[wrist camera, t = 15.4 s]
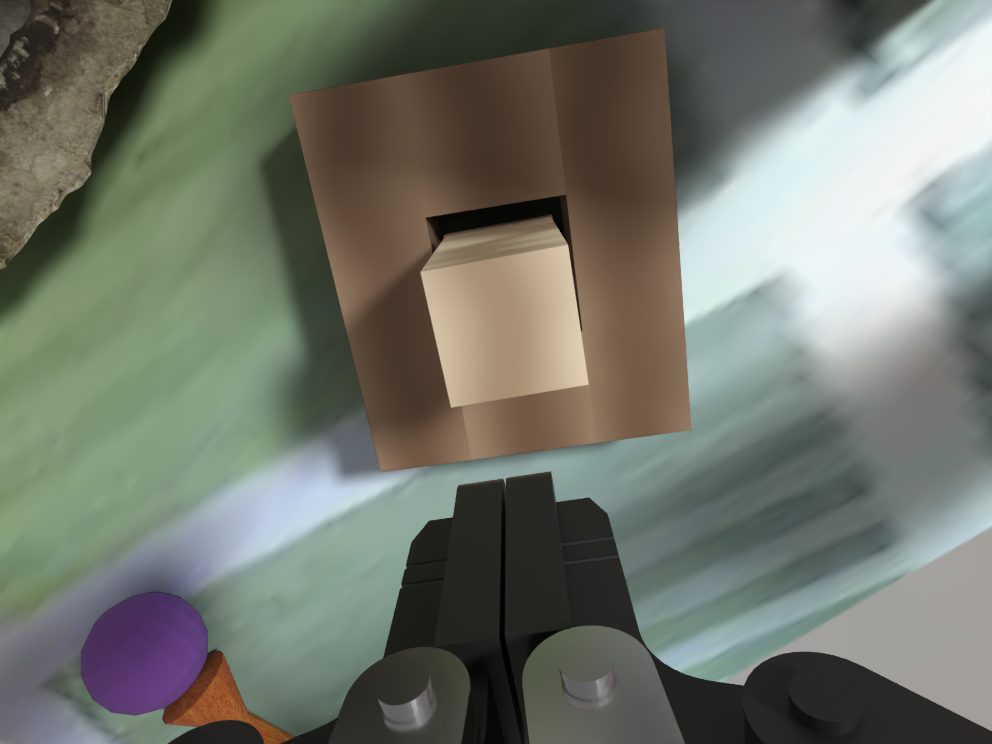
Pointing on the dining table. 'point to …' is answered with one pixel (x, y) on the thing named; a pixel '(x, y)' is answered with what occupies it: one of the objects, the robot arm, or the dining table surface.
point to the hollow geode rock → (58, 98)
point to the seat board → (499, 181)
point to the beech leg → (505, 312)
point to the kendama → (163, 666)
